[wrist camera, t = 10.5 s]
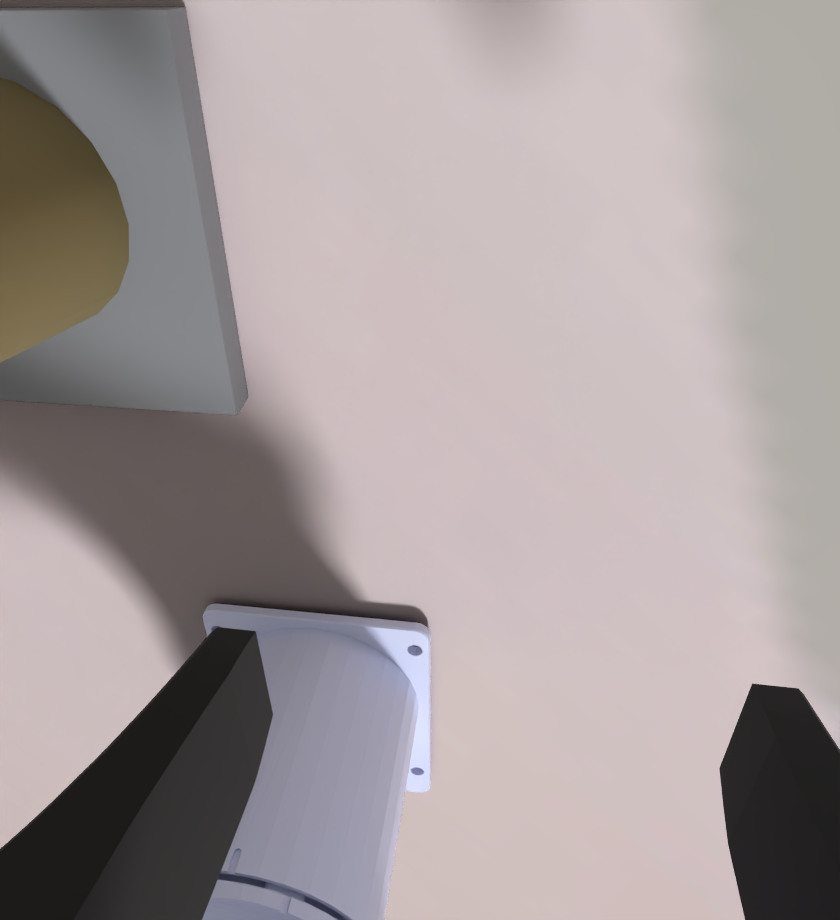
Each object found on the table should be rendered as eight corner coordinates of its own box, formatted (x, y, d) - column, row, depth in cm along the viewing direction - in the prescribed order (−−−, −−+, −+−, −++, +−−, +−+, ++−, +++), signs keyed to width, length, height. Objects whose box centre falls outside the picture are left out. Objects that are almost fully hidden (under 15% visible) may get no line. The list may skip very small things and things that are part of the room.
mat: (248, 397, 21) (236, 415, 20) (-57, 378, 22) (-80, 395, 21) (185, 6, 16) (165, 9, 15) (-213, 8, 17) (-251, 11, 16)
